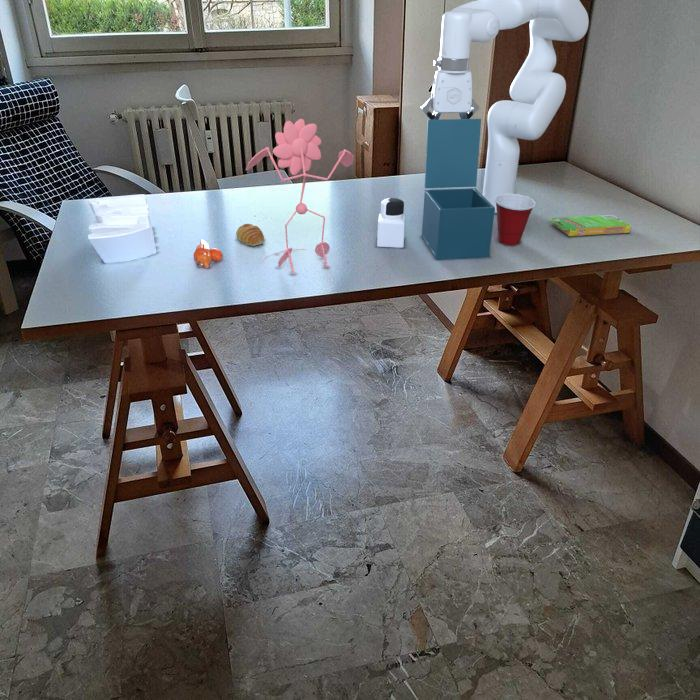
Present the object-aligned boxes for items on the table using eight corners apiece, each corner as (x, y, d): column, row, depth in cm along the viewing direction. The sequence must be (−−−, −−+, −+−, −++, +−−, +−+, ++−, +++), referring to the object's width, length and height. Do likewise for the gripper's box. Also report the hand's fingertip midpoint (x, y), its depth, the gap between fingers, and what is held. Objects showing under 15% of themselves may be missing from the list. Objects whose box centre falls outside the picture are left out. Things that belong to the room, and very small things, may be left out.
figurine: (358, 263, 168) (361, 120, 150) (263, 282, 157) (253, 130, 140) (331, 243, 180) (331, 108, 162) (241, 259, 169) (230, 117, 151)
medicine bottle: (404, 238, 183) (406, 196, 177) (403, 248, 177) (405, 204, 171) (378, 237, 183) (379, 195, 177) (376, 247, 177) (378, 203, 171)
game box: (628, 235, 188) (562, 236, 184) (611, 224, 197) (547, 225, 193) (631, 225, 187) (564, 226, 183) (613, 214, 195) (549, 214, 191)
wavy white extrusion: (156, 266, 165) (150, 225, 160) (87, 272, 161) (78, 231, 156) (156, 220, 194) (150, 184, 189) (97, 224, 191) (90, 188, 185)
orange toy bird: (193, 233, 169) (196, 250, 159) (222, 239, 172) (227, 257, 162) (189, 251, 171) (192, 269, 161) (217, 257, 174) (222, 275, 164)
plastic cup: (506, 252, 175) (512, 208, 169) (481, 238, 183) (486, 196, 177) (538, 245, 179) (545, 202, 173) (512, 232, 188) (518, 191, 182)
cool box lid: (481, 118, 171) (474, 116, 176) (428, 119, 170) (423, 117, 175) (476, 186, 179) (470, 182, 184) (425, 188, 177) (420, 184, 182)
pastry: (270, 244, 178) (269, 231, 176) (247, 249, 175) (246, 235, 173) (256, 233, 185) (255, 220, 183) (233, 238, 182) (232, 225, 180)
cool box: (489, 257, 172) (495, 207, 165) (436, 259, 170) (440, 209, 164) (470, 234, 186) (475, 188, 179) (421, 236, 184) (424, 189, 178)
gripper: (424, 67, 165) (419, 141, 174) (491, 67, 167) (482, 140, 176) (417, 63, 171) (413, 135, 180) (481, 63, 173) (474, 133, 182)
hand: (447, 136), depth 178 cm, fingers closed on cool box lid, 6 cm apart
